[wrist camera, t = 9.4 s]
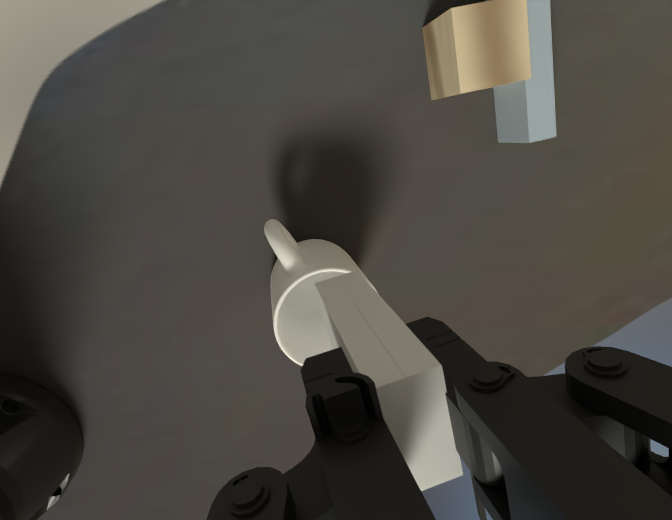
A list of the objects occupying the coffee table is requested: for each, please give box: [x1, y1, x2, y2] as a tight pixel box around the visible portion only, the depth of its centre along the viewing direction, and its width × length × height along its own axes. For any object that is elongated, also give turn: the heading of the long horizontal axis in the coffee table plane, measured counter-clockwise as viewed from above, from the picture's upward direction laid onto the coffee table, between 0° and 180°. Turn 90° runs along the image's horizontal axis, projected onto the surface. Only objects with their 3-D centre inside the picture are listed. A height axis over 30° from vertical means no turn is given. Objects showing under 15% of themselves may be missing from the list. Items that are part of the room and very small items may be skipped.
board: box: [486, 0, 556, 143], centre depth 37 cm, size 2×16×5 cm, turn 12°
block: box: [422, 0, 531, 100], centre depth 36 cm, size 6×6×6 cm
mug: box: [264, 219, 379, 366], centre depth 36 cm, size 12×8×10 cm
